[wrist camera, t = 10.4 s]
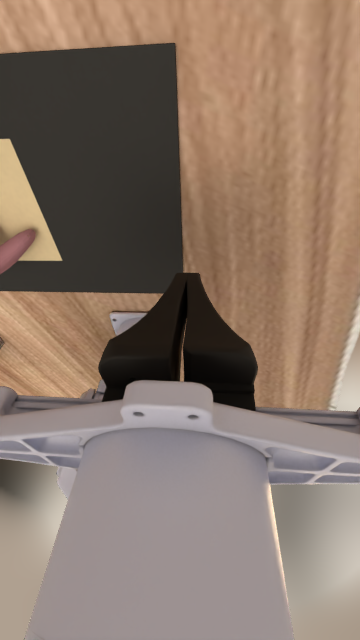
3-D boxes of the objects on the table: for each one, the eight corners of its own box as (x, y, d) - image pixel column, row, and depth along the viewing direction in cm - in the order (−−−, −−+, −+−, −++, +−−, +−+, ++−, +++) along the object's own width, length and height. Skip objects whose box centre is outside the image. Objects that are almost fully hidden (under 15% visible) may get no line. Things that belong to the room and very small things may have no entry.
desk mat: (183, 292, 27) (183, 293, 26) (-39, 288, 29) (-40, 290, 28) (175, 43, 14) (174, 43, 14) (-226, 68, 16) (-231, 68, 16)
